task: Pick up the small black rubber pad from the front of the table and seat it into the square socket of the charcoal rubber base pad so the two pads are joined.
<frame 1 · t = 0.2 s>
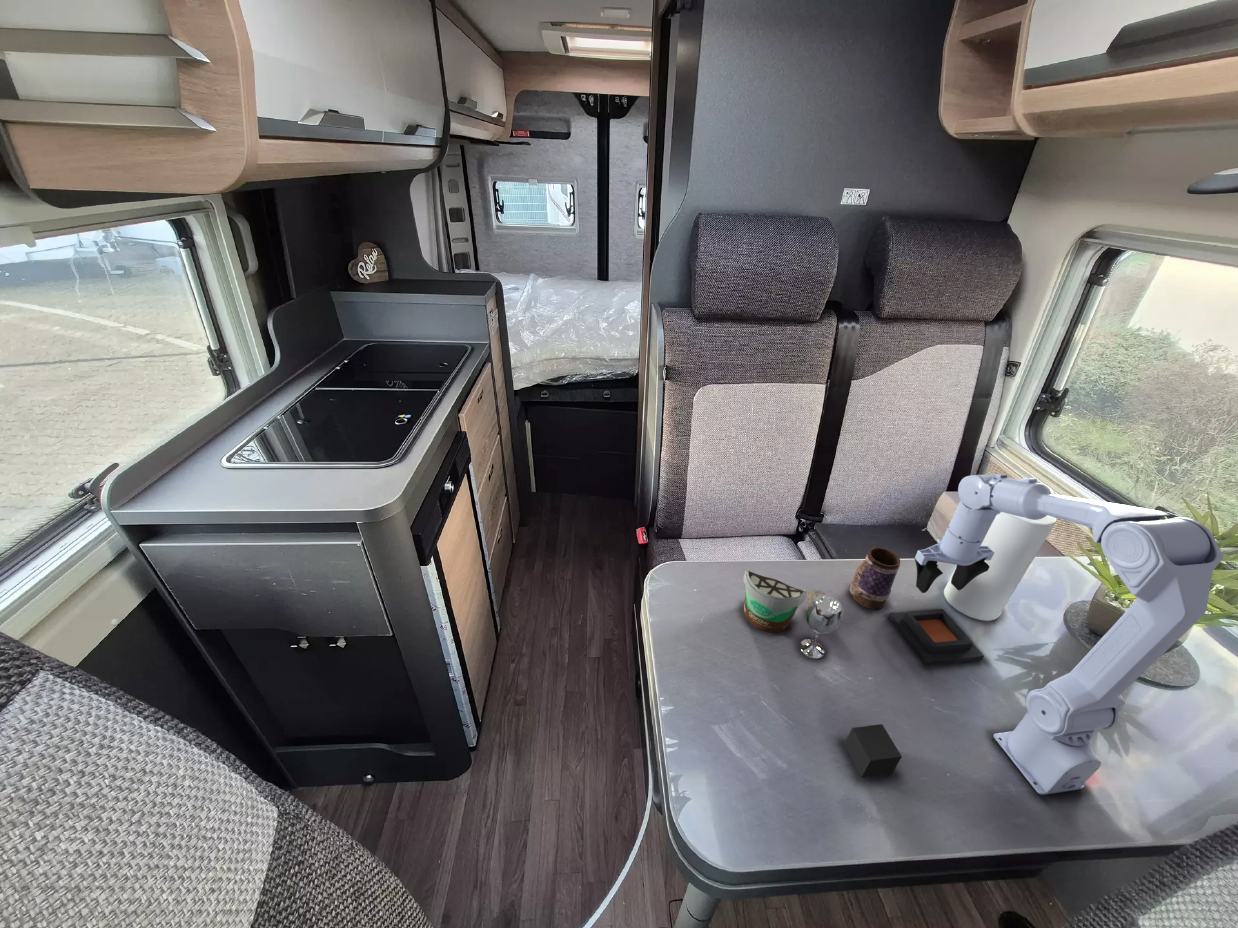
hand: (938, 587, 102), 10 cm above the table, tool pointing down, fingers open, 7 cm apart
base pad: (933, 637, 104), on the table
toy character: (816, 615, 108), on the table
vase: (971, 602, 113), on the table
mug: (861, 600, 112), on the table
wineglass: (811, 649, 100), on the table
food container: (763, 624, 105), on the table
black pad: (867, 758, 82), on the table
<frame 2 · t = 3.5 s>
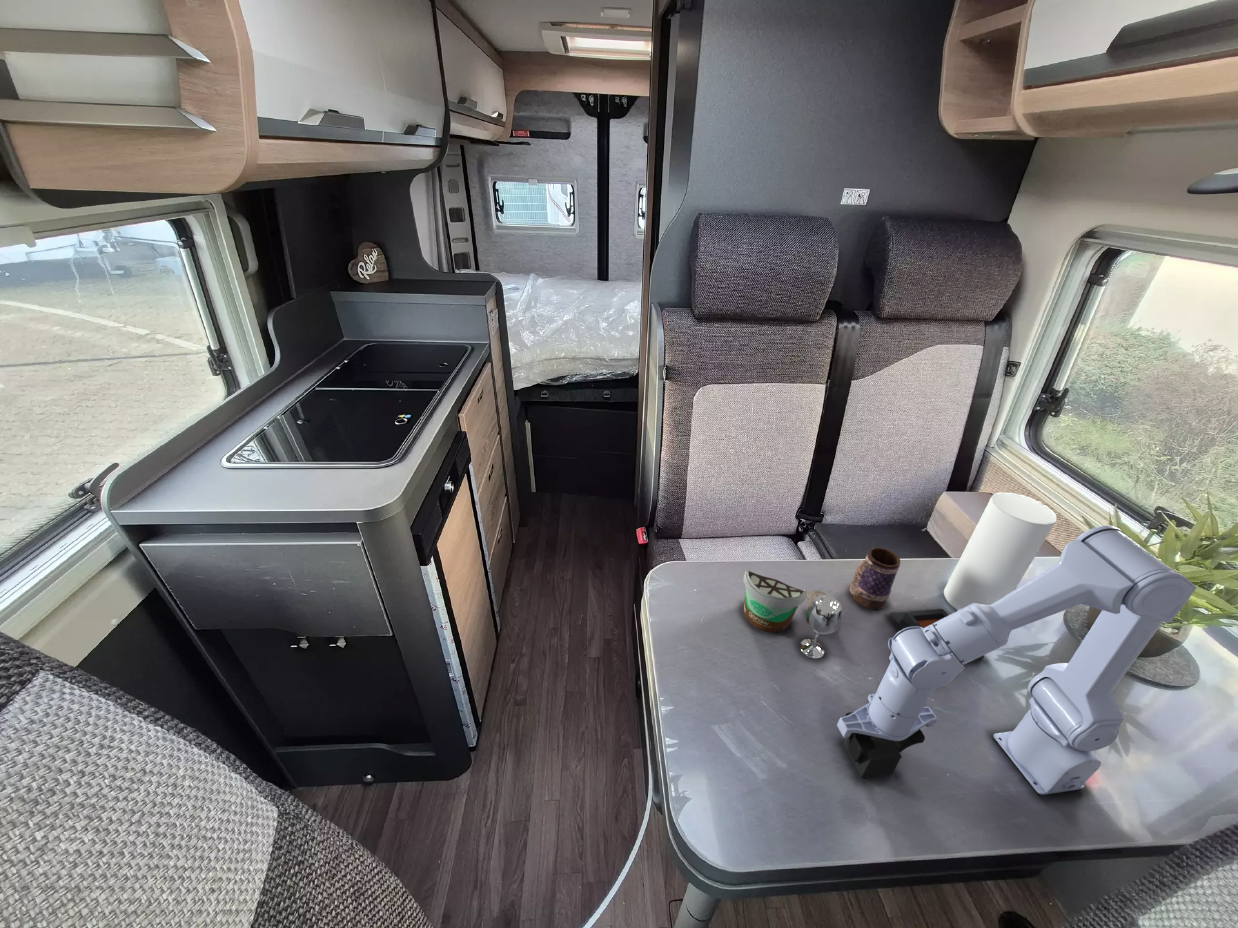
hand: (870, 753, 81), 1 cm above the table, tool pointing down, fingers closed on black pad, 5 cm apart
black pad: (867, 758, 82), on the table, touching gripper
everything else where it was.
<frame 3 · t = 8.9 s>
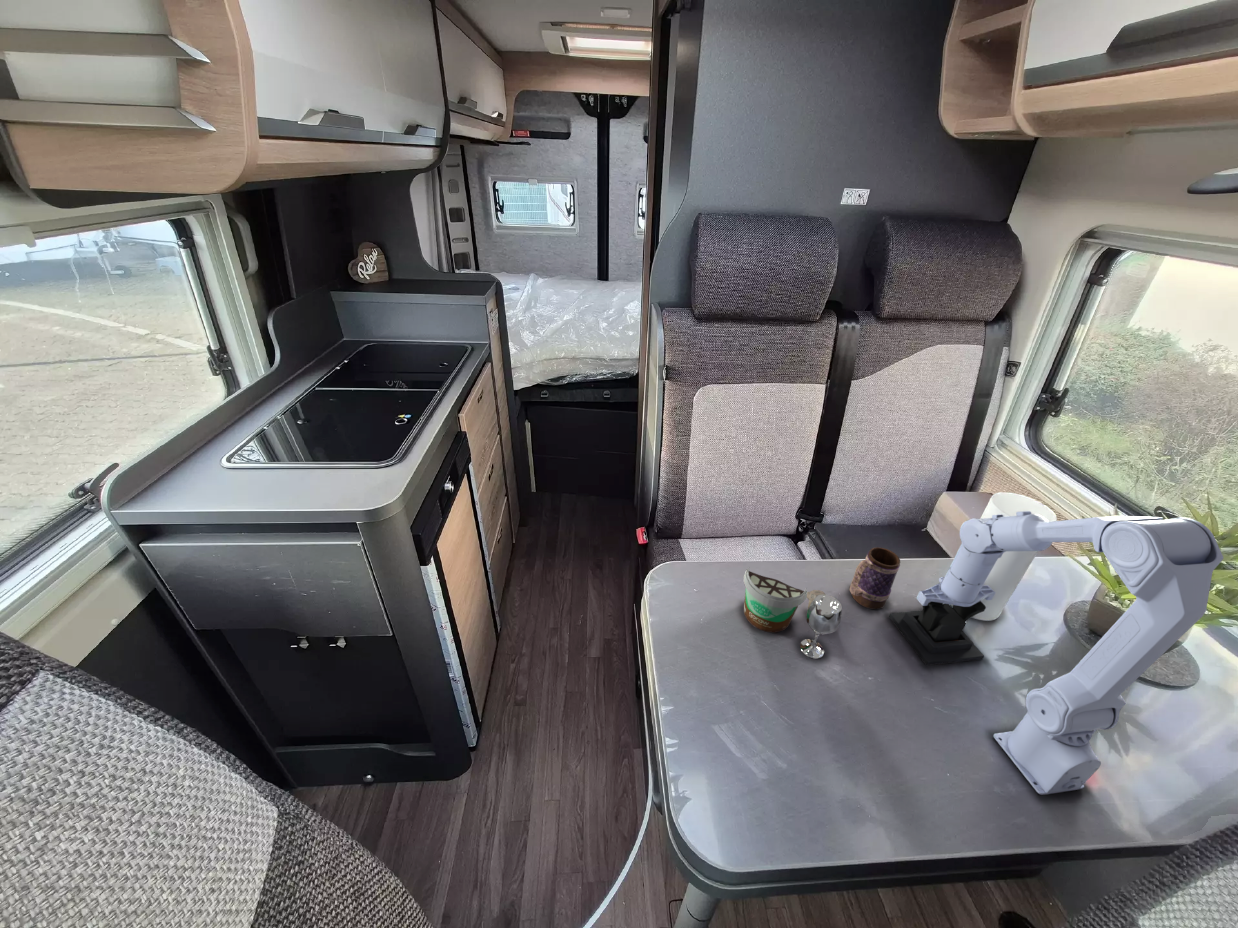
hand: (939, 625, 102), 3 cm above the table, tool pointing down, fingers closed on black pad, 5 cm apart
black pad: (936, 630, 103), point 2 cm above the table, touching gripper
everything else where it was.
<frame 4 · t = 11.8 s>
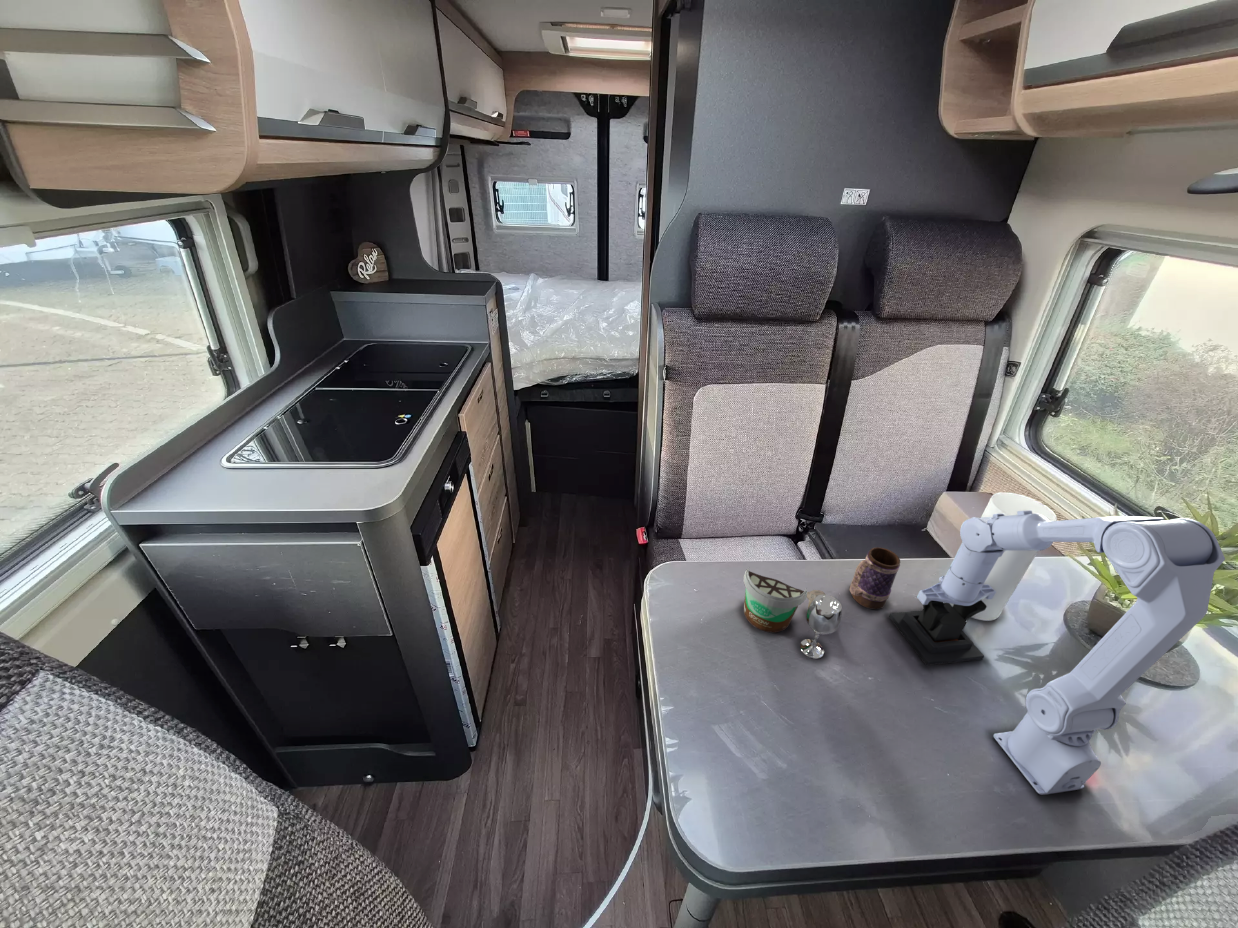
hand: (940, 625, 102), 3 cm above the table, tool pointing down, fingers closed on black pad, 5 cm apart
black pad: (937, 629, 103), point 2 cm above the table, touching gripper
everything else where it was.
when the fingers open (4 cm above the table, at t = 14.6 s): black pad stays where it is, resting on base pad.
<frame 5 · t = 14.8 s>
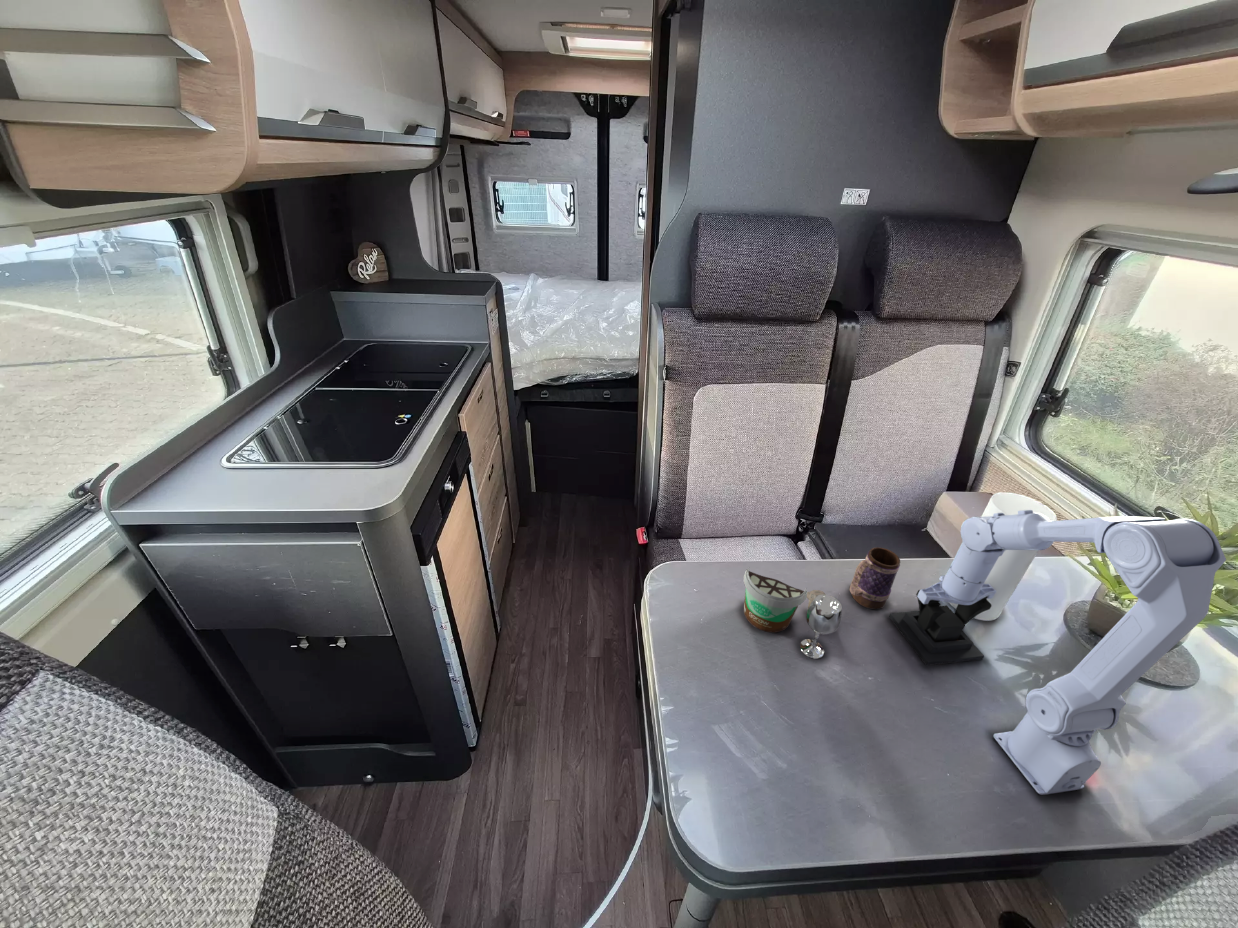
hand: (940, 624, 102), 4 cm above the table, tool pointing down, fingers open, 7 cm apart
black pad: (935, 632, 104), point 1 cm above the table, touching base pad
everything else where it was.
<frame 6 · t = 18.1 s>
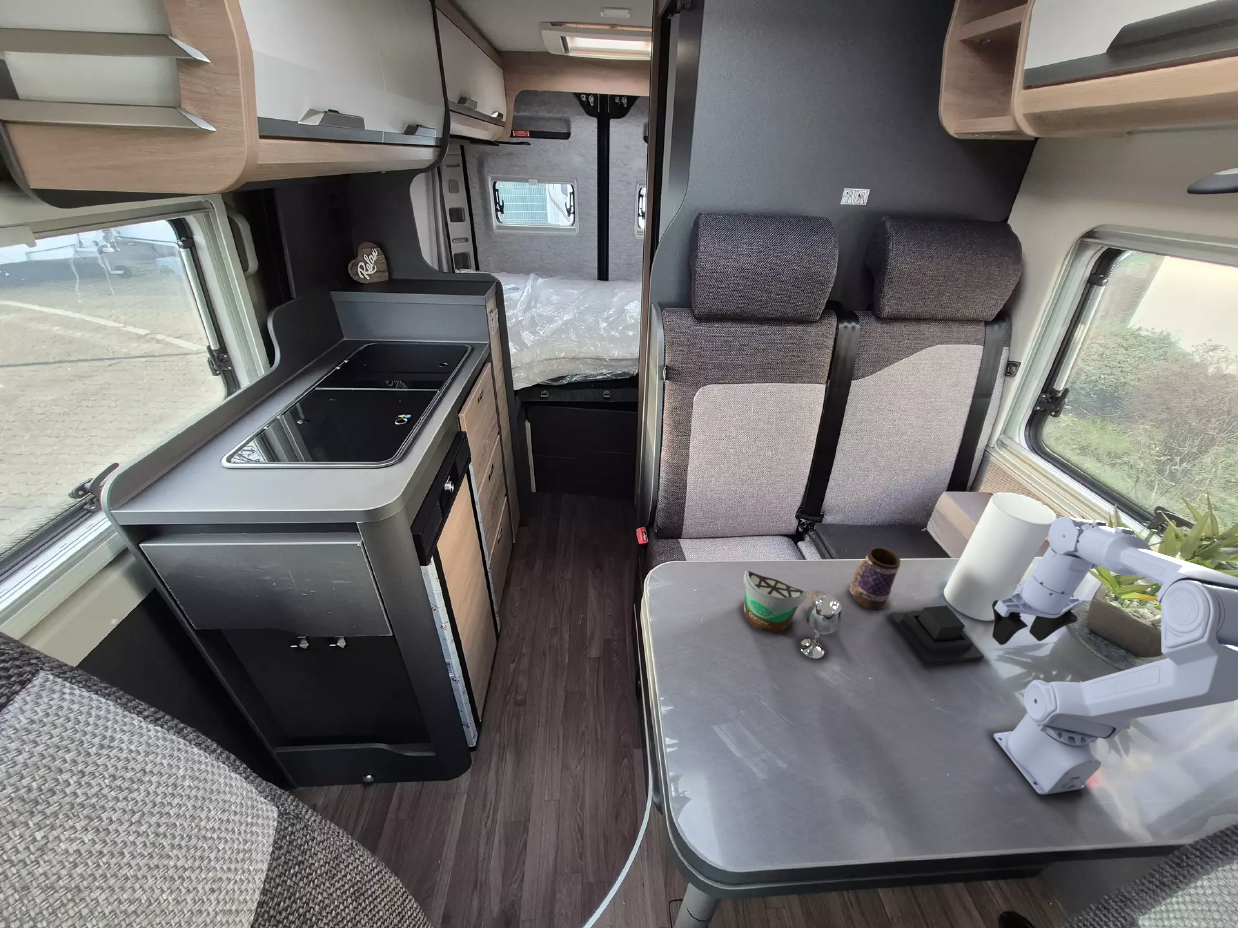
hand: (1016, 638, 93), 9 cm above the table, tool pointing down, fingers open, 7 cm apart
nothing on the table moved.
at the end: black pad 0.1 cm off-centre on the base pad, point 1.2 cm above the base pad's base; black pad tilted 0°; the gripper is holding nothing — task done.
